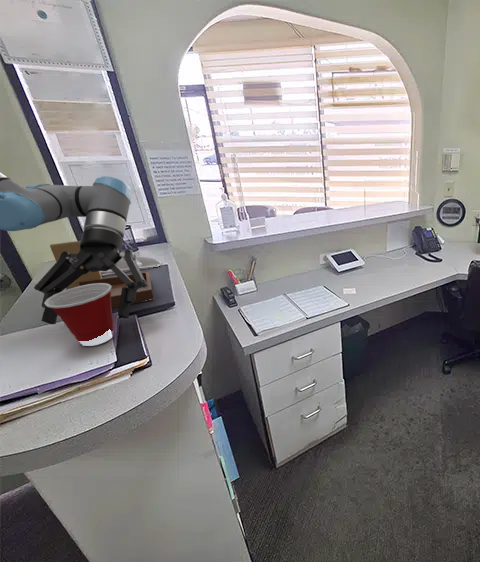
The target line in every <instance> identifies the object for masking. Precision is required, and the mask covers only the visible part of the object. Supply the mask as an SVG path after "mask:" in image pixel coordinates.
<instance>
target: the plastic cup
mask: <svg viewBox="0 0 480 562" xmlns="http://www.w3.org/2000/svg"><path fill="white" fill-rule="evenodd" d="M111 289H112V286H111V285H109V284H106V283H95V284H88V285H82V286H78V287H74V288H71V289H67V288H66V289H64V290H63V291H62V292H60V293H57V294H55V295H53V296H51V297H50V298H48V299H47V300H46V301H45V302H44V304H45V305H46V306H47V307H49V308H52V309H53V310H54V311H55V312H56V313H57V314H58V317H60V319H61V320H62V322H63V323H64V325H65V326H66V327H67V329H68V330H69V332H70V333H71V334H72V335H73V336H74V338H75V340H76V341H77V340H78V341H89V340H92V339H94V338H97V337H98V336H101V335H103V334H104V333H105V332H106V331H108V330H109V329H110V330H111V331H113V329H114V314H113V308H112V306H111ZM78 341H77V342H78Z"/></svg>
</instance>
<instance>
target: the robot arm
mask: <svg viewBox="0 0 480 562" xmlns="http://www.w3.org/2000/svg"><path fill="white" fill-rule="evenodd" d="M131 199H132V190H131V187H130V186H129V185H128V184H127V183H126V182H125V181H123V180H121V179H120V178H117V177H113V176H107V175H102V176H100V177H97V178H95V180H94V181H93V182H92V185H66V184H65V185H64V184H62V185H61V184H51V183H40V184H29V185H27V186H25V187H24V186H23V185H21V184H20V183H18V182H17V181H15V180H13V179H11V178H10V177H8V176H6V175H5V174H3V173H2V172H0V230H1V231H5V232H19V231H25V230H32V229H34V228H37V227H39V226H41V225H44V224H48V223H53V222H56V221H59V220H63V219H66V218H83V217H84V218H85V219H84V224H83V228H82V230H83V231H82V233H81V237H80V240H79V241H80V251H79V252H78V253H77V254H70V253H68V252H66V251H64V252H62V253H61V255H60V258H59V260H58V261H57V262H56V261H55V263H54V265H52V267H50V269H49V270H48V271H47V272H46V273H45V274H44V275H43V277H42V278H40V280H39V281H38V282H37V283H36V284H35V285H34V287H33V289H34V290H35V291H38V292H40V293H42V294H43V298H42V302H41V307H42V308H44V309H43V313H42V317H41V322H43V323H46V324H49V325H56V324H57V320H58V317H59V315H58V314H57V313H56V312H55V311H54V310H53V309H52V308H49V307H47V306H46V305H45V304H44V302H45V301H46V300H47V299H48V298H50V297H51V296H53V295H55V294H57V293H60V292H62V291H65V290H66V289H67V287H68V286H69V285H70V284H72V283H73V282H74V281H75V280H77V279H78V278H79V277H80V276H82V275H84V274H87V273H88V272H89V271H91V272H97V271H107V270H109V269H111V270H112V271H113V274H115V276H118V277H119V278H120V279H121V280H122V281H123V282H124V283H125V285H126V286H128V288H127V287H122V292H121V298H120V304H119V307H118V311H117V316H118V317H120V318H122V319H129V318H130V317H129V316H130V309H131V305H132V304H131V303H134V302H135V298H136V291H137V290H138V289H139V288H142V287H143V288H145V287H147V283H146V281H145V279H144V277H143V275H142V273H141V272H142V271H141V270H140V269H139V267H138V265H137V263H136V262H137V259H136V256H137V254H135V253H134V251H132V250H131V249H129V248H127V249H125V250H124V251H123V245H124V237H125V233H126V227H127V222H128V221H127V219H128V215H129V210H130V206H131V204H132V202H131ZM121 258H123V259H124V260H125V261H126V263H127V265H128V267H129V269H130V271H129V272H130V274H132V275H133V277H134V279H135V282H133V281H132V280H131V279H130V278H129V277H128V276H127V275H128V274H126V273H125V271H122V270H121V269H120V268H119V267H118V266H117V265H116V263H117V262H118V261H119V260H121ZM76 260H78V261H76ZM75 261H76V262H75ZM73 263H74V264H73ZM71 266H72V267H71ZM80 266H83V267H84V268H83V269H81V268H80ZM70 267H71V268H70Z"/></svg>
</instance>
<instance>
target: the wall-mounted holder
mask: <svg viewBox="0 0 480 562" xmlns="http://www.w3.org/2000/svg"><path fill="white" fill-rule="evenodd" d="M136 263H137V265H138V267H139V269H140V271H141V270H149V269H148V268H150V269H154V268H153V267H158V268H160V267H161V265H162V261H160V260H157V259H155V258H153V257H149V256H144V255H136ZM116 265H117V266H118V267H119V268H120V269H121V270H122V271H123V272H131V271H130V269H129V267H128V265H127V263H126V261H125V260H124V259H123V258H121V260H119V261H118V262H117V263H116ZM159 266H160V267H159ZM100 272H101V275H103V274H111V273H113V274H114V272H113V271H112V270H111V269H109V270H107V271H100Z"/></svg>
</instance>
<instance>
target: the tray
mask: <svg viewBox="0 0 480 562" xmlns="http://www.w3.org/2000/svg"><path fill="white" fill-rule="evenodd" d="M141 273H142V275H143V277H144V279H145V281H146V283H147V287H145V288H143V287H142V288H139V289H138V290H137V291H136V298H135V302H134V303H135V304H138V303H137V302H140V303H143V302H142V301H145V300H149V299H153V298H154V299H155V296H154V290H153V286H152V285H151V284H152V280H151V275H150V273H149V271H141ZM126 275H127V276H128V277H129V278H130V279H131V280H132V281H133V282H135V279H134V277H133V275H132V273H129V274H128V273H127V274H126ZM95 283H106V284H109V285H111V286H112V289H111V306H112V309H114V308H119V304H120V298H121V292H122V287H127V288H128V286H126V285H125V283H124V282H123V281H122V280H121V279H120V278H119V277H118V276H117V275H115V276H114V275H113V276H109V277H107V276H106V277H102V278H101V279H94V280H87V281H81V282H76V284H75V287H78V286H82V285H88V284H95ZM152 290H153V291H152ZM145 302H146V301H145ZM130 305H133V304H132V303H131V304H130Z"/></svg>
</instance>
